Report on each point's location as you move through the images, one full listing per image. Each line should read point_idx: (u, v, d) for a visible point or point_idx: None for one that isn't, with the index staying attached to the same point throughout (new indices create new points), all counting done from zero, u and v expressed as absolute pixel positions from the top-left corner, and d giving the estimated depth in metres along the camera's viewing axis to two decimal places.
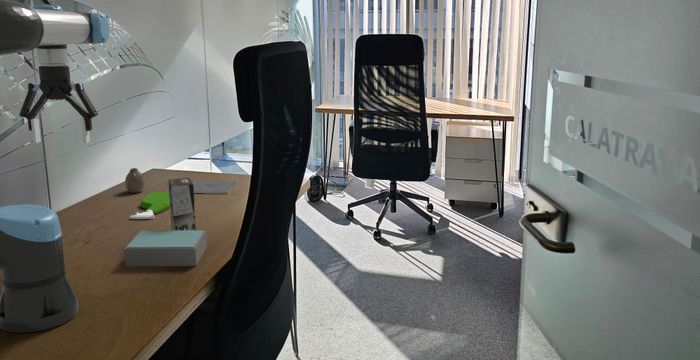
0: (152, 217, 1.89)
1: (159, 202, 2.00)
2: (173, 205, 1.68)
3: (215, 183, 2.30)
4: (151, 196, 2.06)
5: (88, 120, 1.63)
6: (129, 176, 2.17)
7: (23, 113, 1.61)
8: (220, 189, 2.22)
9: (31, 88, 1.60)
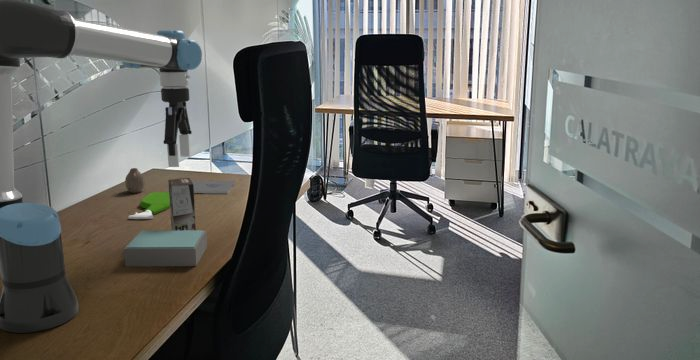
0: (150, 217, 1.89)
1: (158, 202, 2.00)
2: (173, 205, 1.68)
3: (215, 183, 2.30)
4: (151, 196, 2.06)
5: None
6: (129, 176, 2.17)
7: None
8: (220, 189, 2.22)
9: None
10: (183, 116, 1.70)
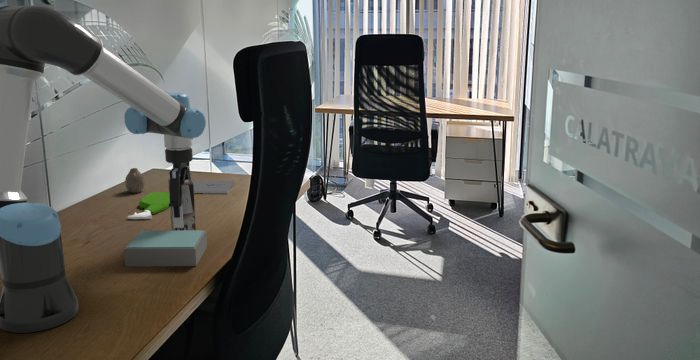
0: (149, 217, 1.89)
1: (157, 202, 2.00)
2: None
3: (215, 183, 2.30)
4: (150, 196, 2.06)
5: None
6: (129, 176, 2.17)
7: None
8: (220, 189, 2.22)
9: None
10: (186, 175, 1.73)
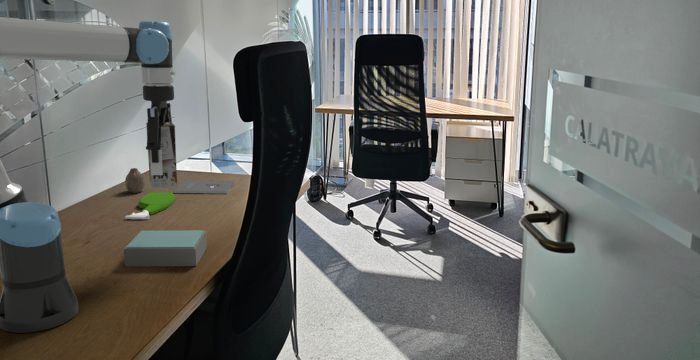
0: (147, 218, 1.89)
1: (156, 202, 2.00)
2: None
3: (215, 183, 2.30)
4: (149, 196, 2.06)
5: None
6: (129, 176, 2.17)
7: None
8: (220, 189, 2.22)
9: None
10: (166, 118, 1.53)
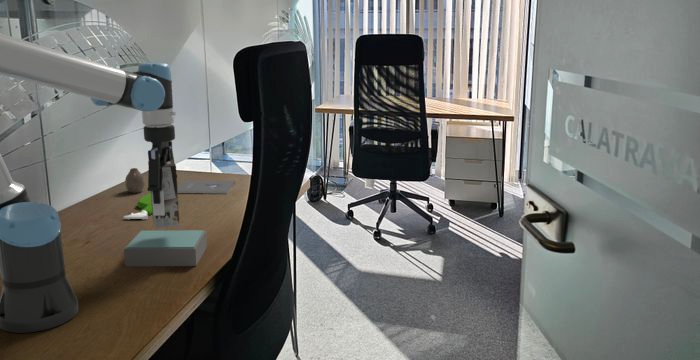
0: (145, 218, 1.89)
1: None
2: None
3: (215, 183, 2.30)
4: (149, 196, 2.06)
5: None
6: (129, 176, 2.17)
7: None
8: (220, 189, 2.22)
9: None
10: (168, 157, 1.54)
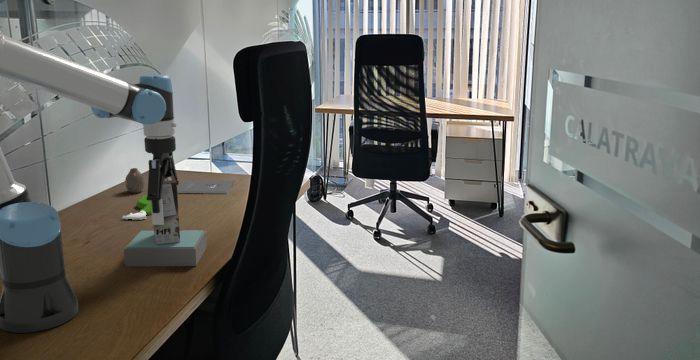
0: (144, 218, 1.88)
1: None
2: None
3: (215, 183, 2.30)
4: None
5: None
6: (129, 176, 2.17)
7: None
8: (219, 189, 2.22)
9: None
10: (169, 167, 1.55)
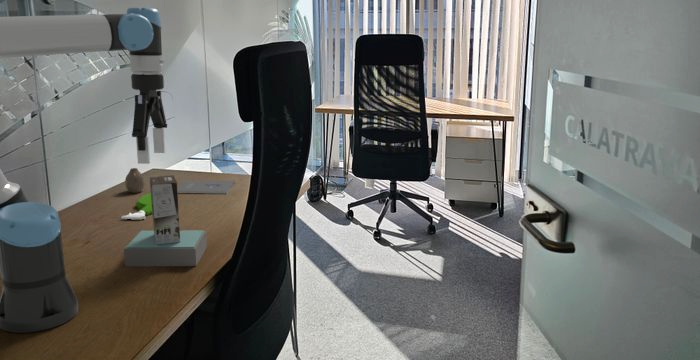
0: (143, 218, 1.88)
1: None
2: (154, 206, 1.50)
3: (215, 183, 2.30)
4: (148, 196, 2.06)
5: None
6: (129, 176, 2.17)
7: None
8: (219, 189, 2.22)
9: None
10: (157, 107, 1.50)
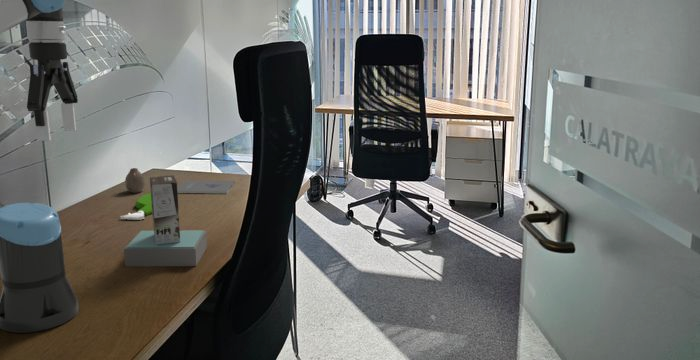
0: (142, 218, 1.88)
1: None
2: (154, 206, 1.50)
3: (215, 183, 2.30)
4: (147, 196, 2.06)
5: None
6: (129, 176, 2.17)
7: None
8: (219, 189, 2.22)
9: None
10: (61, 79, 1.37)
